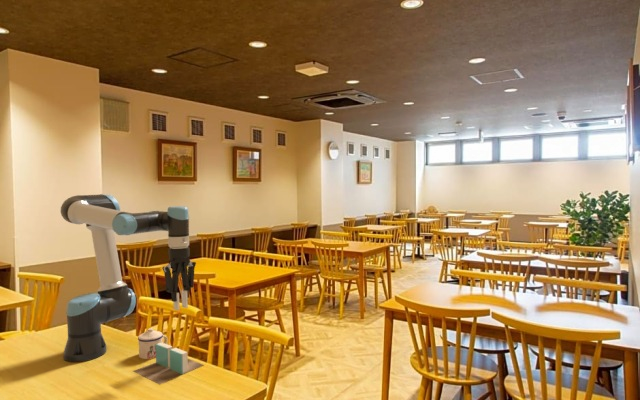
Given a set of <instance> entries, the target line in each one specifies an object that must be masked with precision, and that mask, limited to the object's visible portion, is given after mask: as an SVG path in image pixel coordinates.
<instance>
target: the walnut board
mask: <svg viewBox="0 0 640 400" xmlns="http://www.w3.org/2000/svg"><path fill="white" fill-rule="evenodd" d="M201 367H205V364H203V363H200V362H197V361H194V360H192V359H190V358H188V372H186V373H183V374H180V373H178V372H176V371H173V370H171V369H170V367H164V366H162V365H160V364H158V363H156V361H155V362H152V363H151V364H148V365H145V366H142V367H139V368H137V369H135V370H133V372H134V373H135V374H138V375H139V376H142V377H144V378H146V379H148V380H150V381H152V382H154V383H155V384H158V385H162V384H164V383H167V382H169V381H171V380H174V379H176V378H178V377H181V376H183V375H186V374H188V373H190V372H193V371H195V370H197V369H199V368H201Z"/></svg>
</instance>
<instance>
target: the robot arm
mask: <svg viewBox="0 0 640 400" xmlns="http://www.w3.org/2000/svg"><path fill="white" fill-rule="evenodd" d="M60 214H61V217H62V218H63V219H64V220H65V221H66V222H68V223H69V224H75V225H83V224H85V225H86V229H88V230H90V231H91V232H90V233H91V237H92V243H93V249H94V255H95V261H96V267H97V268H96V269H97V272H98V278H99V285H100V286H99V287H98V289H97V290H96V291H97V292H88V293H83V294H81V295H77V296H74V297H73V298H71V299H70V300H68V302H67V305H66V312H65V313H66V321H67V323H66V324H67V341H66V343H65V347H64V350H63V357H62V358H63V361H65V362H69V363H70V362H71V363H78V362H87V361H90V360H93V359H97V358H99V357H101V356H103V355H104V354H105V353H106V352H107V343H106V342H105V339H104V336H103V334H102V325H103V324H105V323H108V322H111V321H114V320H117V319H122V318H123V319H124V317H126V316H129V315H130V314H131V313H133V311H134V309H135V307H136V301H137V298H136V294H135V292H134V291H133V289H131V288H129V287H128V284H127V283H126V282H124V281H123V278H122V270H121V265H120V259H119V254H118V249H117V242H116V241H117V240H116V236H115V234H116V235H118V236H130V235H135V234H136V235H137V234H142V233H152V232H168V233H167V236H168V237H167V239H168V240H167V242H168V247H169V248H168V259H169V262H168V264H166V265H165V266H162V269H161V270H162V271H163V273H164V281H165V290H166V293H167V292H168V293H171V302H173V310H174V311H175V310H176V311H180V310H181V309H180V292H178V286H179V279H180V277H181V283H182V289H181V307H182V308H185V309H187V308H189V306H188V304H189V303H188V301H189V300H188V299H189V298H190V291H191V290H192V288H193V287H194V286H195V285H194V283H195V282H194V281H195V280H194V279H195V268H196V264H197V262H196V261H192V260H191V259H190V255H191V253H190V251H191V250H190V247H189V246H190V214H189V208H188V207H187V206H180V205H179V206H178V205H177V206H175V205H174V206H169V207H167V211H163V210H161V211H160V210H152V211H146V212H145V211H144V212H135V213H134V212H128V211H122V210H121V206H120V203H119V201H118V200H117V199H116V198H115V197H114V196H113V195H110V194H103V193H101V194H87V195H86V194H83V195H79V194H77V195H73V196H71V197H68V198H67V199H65V200H64V201H63V203H62V204H61V206H60Z"/></svg>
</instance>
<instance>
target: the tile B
mask: <svg viewBox="0 0 640 400" xmlns="http://www.w3.org/2000/svg"><path fill="white" fill-rule="evenodd" d="M188 359H189V358H188V351H185V350H183V349H180V348H178V347H173V349H171V350H170V369H171V370H173V371H176V372H178V373H180V374H183V373H186V372H188ZM188 373H189V372H188ZM186 374H187V373H186ZM183 375H184V374H183Z"/></svg>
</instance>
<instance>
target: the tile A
mask: <svg viewBox="0 0 640 400" xmlns="http://www.w3.org/2000/svg"><path fill="white" fill-rule="evenodd" d="M173 348H174V347H173V346H172V345H170V344H168V343H167V344H165V343H164V342H163V343H162V342H161V343H158V344H156V358H155V362H156V363H158V364H160V365H162V366H164V367H170V350H171V349H173Z"/></svg>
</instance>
